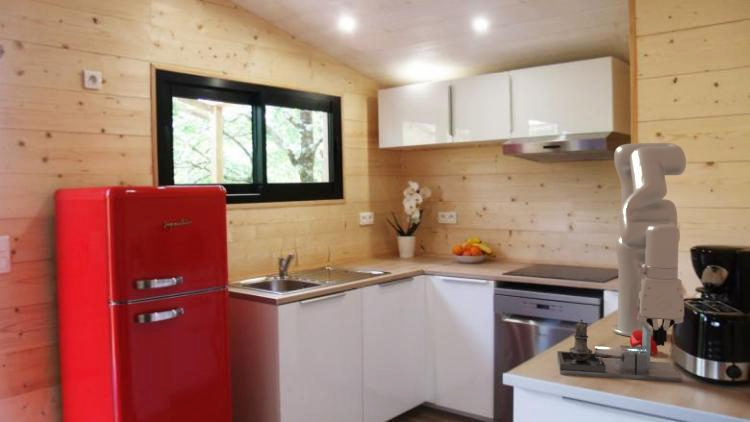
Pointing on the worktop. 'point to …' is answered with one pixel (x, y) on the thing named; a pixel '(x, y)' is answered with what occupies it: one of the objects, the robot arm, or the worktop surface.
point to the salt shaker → (580, 345)
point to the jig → (619, 367)
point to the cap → (637, 340)
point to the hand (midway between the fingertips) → (659, 344)
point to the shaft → (619, 352)
